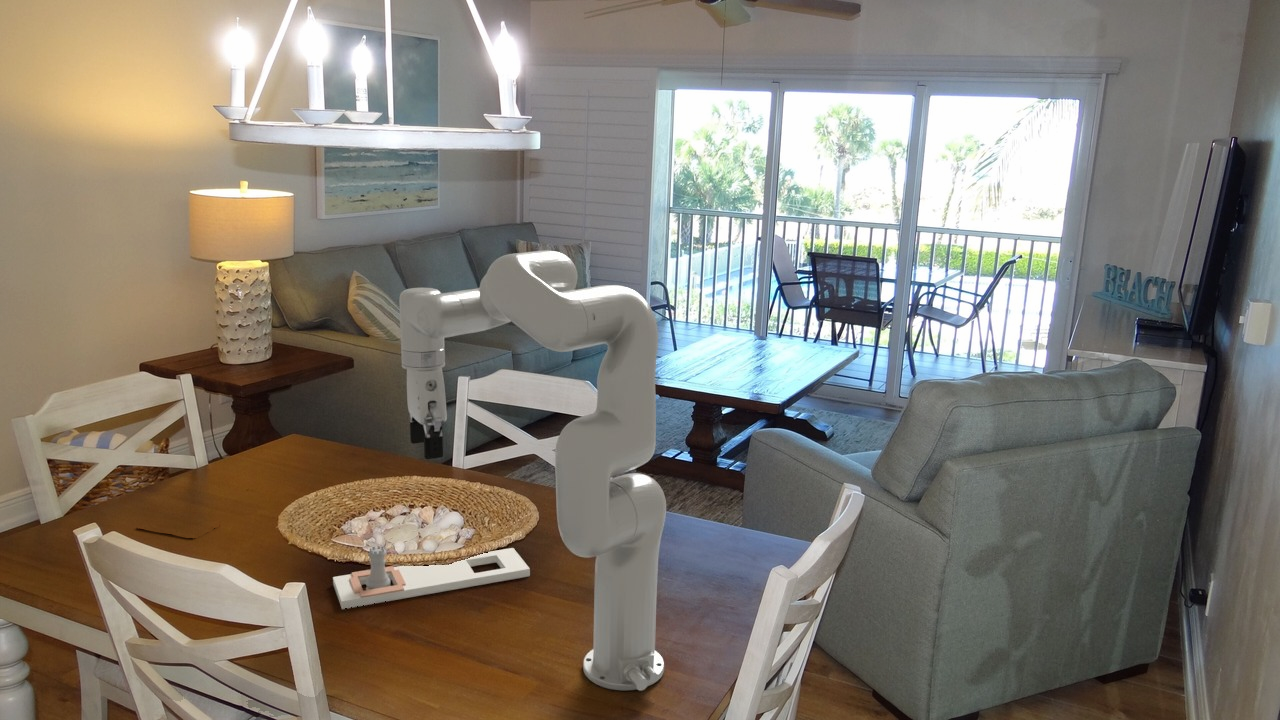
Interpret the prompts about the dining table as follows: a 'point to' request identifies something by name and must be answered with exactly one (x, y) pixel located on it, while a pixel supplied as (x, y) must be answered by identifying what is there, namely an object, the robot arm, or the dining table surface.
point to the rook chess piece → (377, 569)
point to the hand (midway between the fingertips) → (426, 449)
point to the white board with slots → (429, 578)
